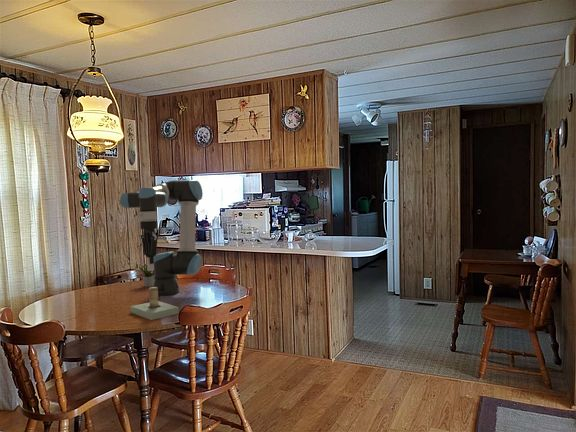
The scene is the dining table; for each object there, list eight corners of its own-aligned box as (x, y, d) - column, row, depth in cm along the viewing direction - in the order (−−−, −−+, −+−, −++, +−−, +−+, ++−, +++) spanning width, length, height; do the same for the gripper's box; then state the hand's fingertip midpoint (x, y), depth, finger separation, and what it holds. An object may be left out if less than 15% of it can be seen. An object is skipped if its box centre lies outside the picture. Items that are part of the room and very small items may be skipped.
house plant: (159, 282, 285) (158, 257, 284) (165, 285, 273) (164, 259, 272) (136, 285, 278) (135, 259, 277) (141, 288, 266) (140, 261, 265)
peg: (148, 313, 209) (147, 288, 208) (156, 311, 212) (155, 286, 211) (152, 314, 206) (151, 289, 205) (160, 312, 209) (159, 287, 208)
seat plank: (130, 312, 211) (130, 306, 211) (157, 306, 221) (157, 300, 221) (151, 320, 197) (150, 313, 197) (178, 313, 207) (178, 307, 207)
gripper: (134, 220, 209) (136, 270, 210) (147, 221, 200) (149, 273, 201) (149, 219, 214) (151, 268, 215) (162, 220, 205) (164, 270, 206)
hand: (150, 270), depth 208 cm, fingers closed
